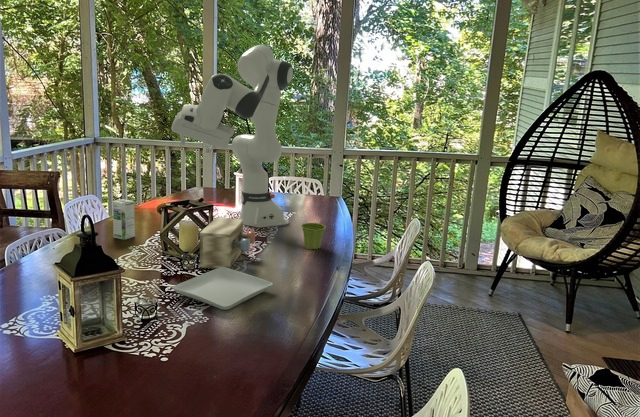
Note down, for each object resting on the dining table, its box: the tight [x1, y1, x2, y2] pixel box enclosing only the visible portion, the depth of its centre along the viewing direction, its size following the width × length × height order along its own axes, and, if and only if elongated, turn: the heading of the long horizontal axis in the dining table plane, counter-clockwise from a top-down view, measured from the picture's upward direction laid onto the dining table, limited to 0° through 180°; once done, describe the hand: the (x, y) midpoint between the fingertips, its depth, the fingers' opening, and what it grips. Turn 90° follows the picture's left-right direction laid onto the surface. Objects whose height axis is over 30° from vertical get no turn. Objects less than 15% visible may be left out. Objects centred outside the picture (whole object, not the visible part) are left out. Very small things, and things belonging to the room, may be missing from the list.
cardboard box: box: [199, 217, 244, 269], centre depth 170 cm, size 10×20×12 cm, turn 176°
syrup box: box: [112, 198, 136, 241], centre depth 187 cm, size 6×6×14 cm
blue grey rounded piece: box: [232, 238, 251, 253], centre depth 165 cm, size 7×4×4 cm, turn 86°
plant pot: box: [301, 222, 327, 250], centre depth 188 cm, size 9×9×9 cm
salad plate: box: [172, 267, 274, 311], centre depth 142 cm, size 21×21×3 cm
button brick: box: [238, 230, 256, 245], centre depth 174 cm, size 7×4×4 cm, turn 86°
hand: (195, 147), depth 176 cm, fingers open, 8 cm apart
